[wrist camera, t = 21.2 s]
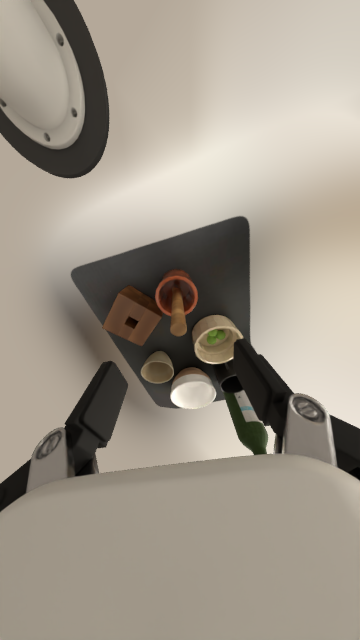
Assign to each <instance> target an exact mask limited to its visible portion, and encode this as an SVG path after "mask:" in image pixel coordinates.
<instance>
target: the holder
mask: <svg viewBox="0 0 360 640" xmlns="http://www.w3.org/2000/svg"><path fill="white" fill-rule="evenodd" d="M162 313H163V312H162V311H161V309H160V308H159V307H158V305H157V302H156V301H155V300H153V299H152V298H150V297H148V296H147V295H145V294H143V293H142V292H140V291H138V290H137V289H135V288H133V287H132V286H130V285H128V286H127V287H126V288H124V289H123V290H122V291H120V292H119V293H118V295H117V297H116V299H115V301H114V304H113V306H112V308H111V310H110V312H109V314H108V316H107V318H106V321H105V323H104V325H103V327H102V328H103V329H105V330H107V331H109V332H112V333H114V334H116V335H118V336H120V337H122V338H125V339H127V340H129V341H131V342H133V343H135V344H138V345H140V346H142V345H143V344H144V342H145V341H146V339H147V338H148V336H149V335H150V334H151V332H152V331H153V329H154V328H155V326H156V325H157V323H158V322H159V320H160V319H161V318H162Z"/></svg>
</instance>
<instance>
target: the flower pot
mask: <svg viewBox="0 0 360 640" xmlns="http://www.w3.org/2000/svg"><path fill="white" fill-rule="evenodd" d="M141 375H142V376H143V378H144V379H145V380H147V381H149V382H152V383H164V382H167V381H169V380H170V379H171V378H172V377H173V375H174V369H173V365H172V362H171V360H170V358H169V357H168V355H167V354H166V353H165V352H163V351H156V352H154V353H153V354H152V355H150V356H149V358H148V359H147V360H146V361H145V363H144V365H143V367H142V369H141Z"/></svg>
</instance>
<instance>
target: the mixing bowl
mask: <svg viewBox="0 0 360 640" xmlns="http://www.w3.org/2000/svg"><path fill="white" fill-rule="evenodd" d="M214 329H217V331H218V330H223V331H224V332H225V334H226V336H225V338H224V339H222V340H219V339H217V338H216V339H217V341H216V343H215V344H213V345H211V344H209V343H208V342H207V337H208V336H209V335H208V332H209V331H211V330H214ZM215 337H216V336H215ZM237 339H243V336H242V335H241V333H240V331H239V330H238V329H237V328H236V326H235V325H234V324H233V323H232V321H231V320H230V319H228V318H227V317H225V316H221V315H211V316H208V317H205V318H203V319H202V320H200V321H199V322H198V323H197V324H196V325H195V326H194V329H193V331H192V340H193V345H194V351H195V353H196V356H197V357H198V358H199V359H200V360H201V361H203V362H205V363H209V364H221V363H225V362H228V361H230V360H231V359H233V352H234V342H236V340H237Z"/></svg>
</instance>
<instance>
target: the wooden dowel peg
mask: <svg viewBox="0 0 360 640" xmlns="http://www.w3.org/2000/svg"><path fill="white" fill-rule="evenodd" d="M172 291H173V296H172V313H171V333H172V334H173V335H175V336H182V335H184V334H185V333H186V331H187V326H186V320H185V313H184V306H183V300H182V290H181V288H180V287H178V286H177V285H176V284H174V285H173V287H172Z"/></svg>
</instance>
